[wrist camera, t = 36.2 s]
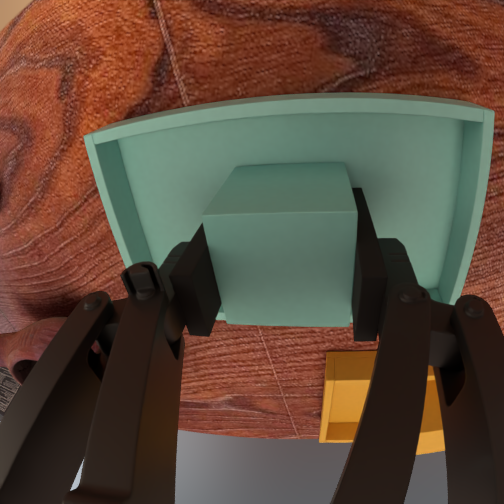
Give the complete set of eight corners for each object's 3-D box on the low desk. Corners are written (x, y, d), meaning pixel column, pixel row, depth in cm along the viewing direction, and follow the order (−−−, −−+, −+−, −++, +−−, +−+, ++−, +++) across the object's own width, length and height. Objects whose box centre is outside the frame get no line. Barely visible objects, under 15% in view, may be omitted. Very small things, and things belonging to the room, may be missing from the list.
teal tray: (469, 101, 11) (495, 111, 9) (441, 289, 17) (452, 318, 15) (111, 123, 15) (82, 135, 13) (160, 288, 21) (145, 314, 19)
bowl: (116, 285, 22) (59, 368, 15) (183, 388, 28) (156, 459, 21) (14, 293, 26) (-29, 344, 20) (75, 373, 33) (46, 423, 26)
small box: (26, 377, 40) (-1, 422, 32) (4, 350, 37) (-27, 397, 28) (62, 388, 38) (32, 442, 29) (37, 360, 34) (1, 416, 26)
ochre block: (460, 372, 20) (472, 424, 16) (442, 403, 23) (449, 449, 19) (406, 378, 21) (412, 434, 17) (393, 408, 24) (396, 457, 20)
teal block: (344, 162, 13) (358, 211, 9) (343, 255, 16) (349, 327, 12) (234, 166, 14) (200, 215, 10) (248, 256, 17) (226, 324, 13)
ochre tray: (530, 334, 18) (540, 358, 15) (483, 405, 23) (487, 425, 21) (326, 351, 21) (325, 380, 19) (320, 419, 27) (318, 442, 25)
